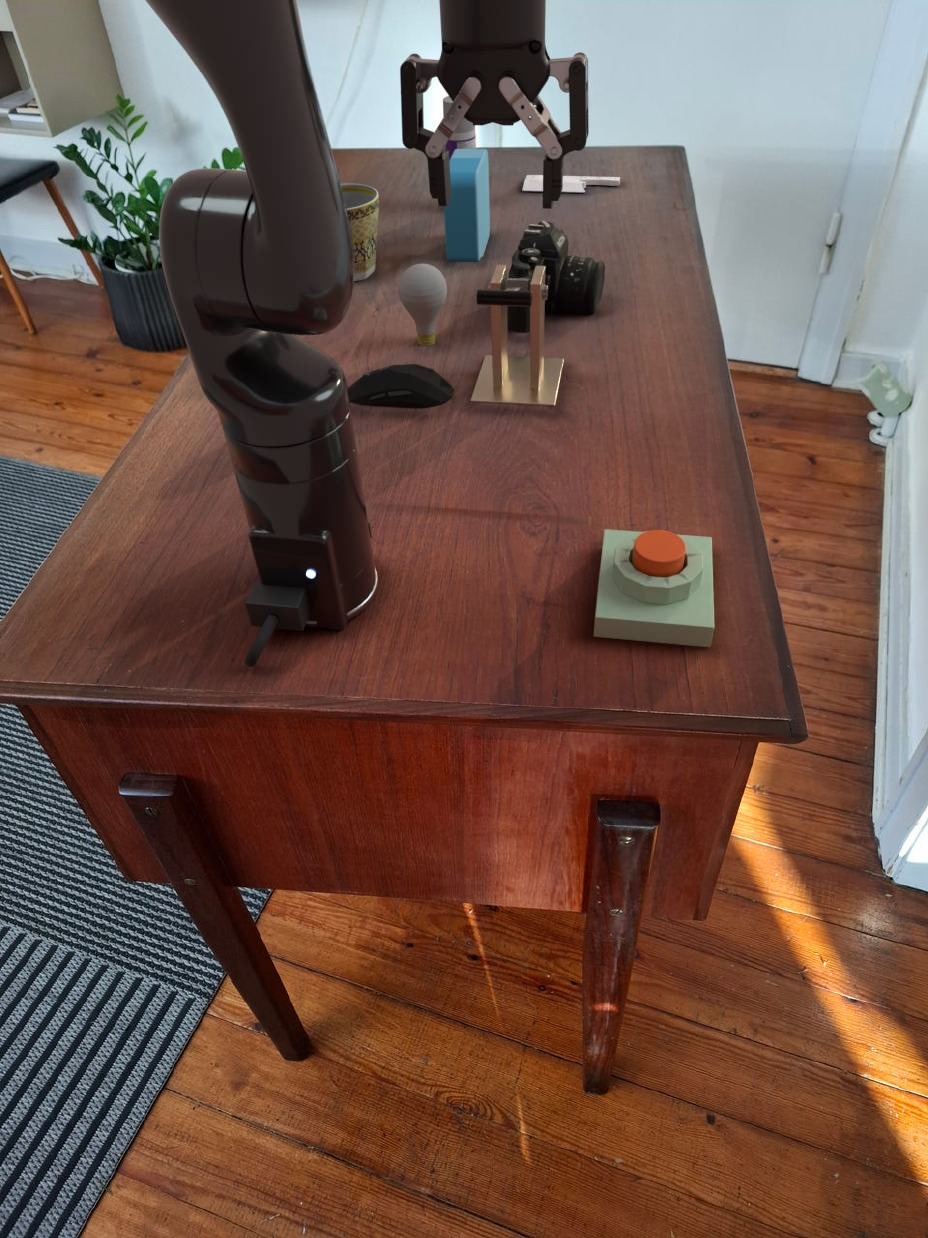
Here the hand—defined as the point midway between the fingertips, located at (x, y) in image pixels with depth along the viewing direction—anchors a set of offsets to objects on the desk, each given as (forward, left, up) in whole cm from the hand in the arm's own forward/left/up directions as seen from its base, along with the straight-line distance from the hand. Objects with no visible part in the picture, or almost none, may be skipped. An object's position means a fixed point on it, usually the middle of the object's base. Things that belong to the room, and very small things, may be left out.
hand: (496, 204), depth 73 cm
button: (-19, -16, -21) cm, 32 cm away
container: (+67, +16, -24) cm, 73 cm away
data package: (+50, +12, -24) cm, 57 cm away
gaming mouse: (+9, +14, -24) cm, 29 cm away
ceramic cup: (+43, +28, -24) cm, 57 cm away
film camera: (+32, -2, -24) cm, 40 cm away
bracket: (+13, 0, -24) cm, 27 cm away
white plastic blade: (+76, 0, -24) cm, 80 cm away
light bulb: (+21, +12, -24) cm, 34 cm away
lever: (+8, 0, -13) cm, 15 cm away
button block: (-19, -16, -24) cm, 34 cm away
